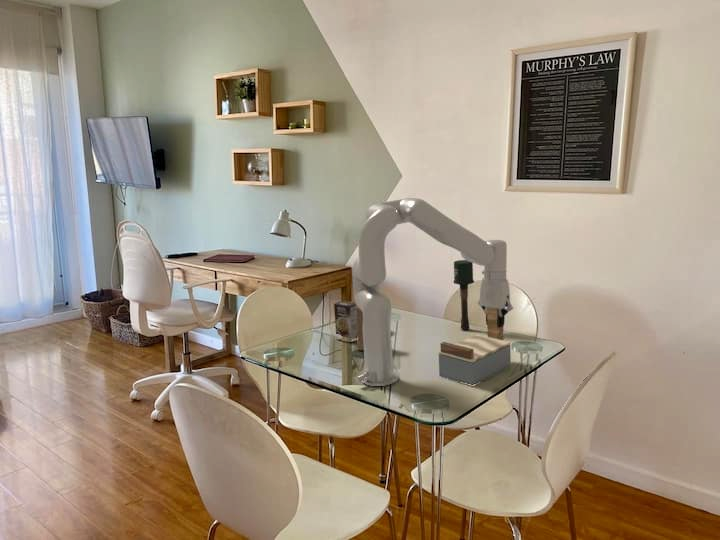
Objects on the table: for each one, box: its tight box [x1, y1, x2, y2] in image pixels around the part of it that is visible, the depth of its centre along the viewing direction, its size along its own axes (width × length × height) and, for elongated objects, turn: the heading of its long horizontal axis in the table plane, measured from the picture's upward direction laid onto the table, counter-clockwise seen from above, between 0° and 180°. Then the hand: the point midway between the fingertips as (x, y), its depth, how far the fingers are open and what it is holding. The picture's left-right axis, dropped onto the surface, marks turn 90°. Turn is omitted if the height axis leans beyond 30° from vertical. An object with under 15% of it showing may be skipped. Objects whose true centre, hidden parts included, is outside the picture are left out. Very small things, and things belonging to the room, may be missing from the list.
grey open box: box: [438, 344, 512, 385], centre depth 187 cm, size 22×14×8 cm, turn 133°
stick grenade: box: [453, 259, 475, 332], centre depth 231 cm, size 8×9×30 cm
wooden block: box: [356, 306, 364, 351], centre depth 215 cm, size 4×11×18 cm, turn 85°
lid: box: [438, 334, 511, 363], centre depth 186 cm, size 22×14×4 cm, turn 133°
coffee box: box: [333, 300, 358, 340], centre depth 230 cm, size 9×6×16 cm
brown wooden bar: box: [486, 307, 505, 341], centre depth 193 cm, size 4×4×18 cm
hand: (495, 324), depth 194 cm, fingers closed on brown wooden bar, 4 cm apart
